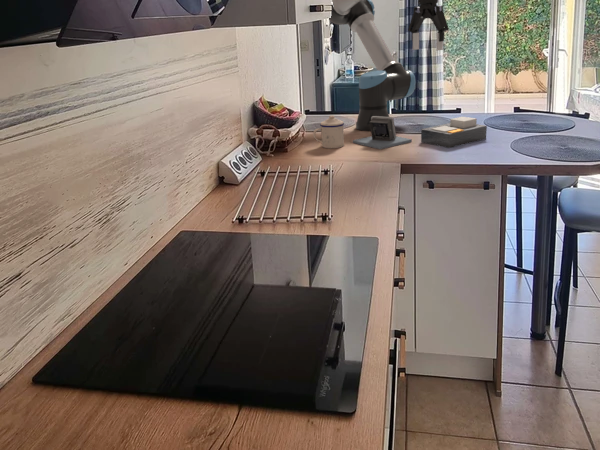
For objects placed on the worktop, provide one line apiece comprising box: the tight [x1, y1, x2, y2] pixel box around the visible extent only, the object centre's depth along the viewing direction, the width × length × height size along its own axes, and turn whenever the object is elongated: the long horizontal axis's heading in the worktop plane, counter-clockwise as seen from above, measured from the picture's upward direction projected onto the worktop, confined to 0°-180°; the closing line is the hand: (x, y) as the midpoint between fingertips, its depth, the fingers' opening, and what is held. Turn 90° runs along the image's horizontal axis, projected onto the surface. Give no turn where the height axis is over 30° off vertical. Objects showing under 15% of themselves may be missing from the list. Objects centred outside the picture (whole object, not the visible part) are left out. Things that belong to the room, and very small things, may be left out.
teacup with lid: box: [312, 115, 345, 149], centre depth 220 cm, size 12×9×12 cm
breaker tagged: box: [431, 126, 458, 133], centre depth 215 cm, size 7×7×3 cm
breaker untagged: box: [449, 116, 478, 128], centre depth 219 cm, size 7×7×3 cm
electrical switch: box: [369, 116, 397, 141], centre depth 221 cm, size 9×5×9 cm, turn 55°
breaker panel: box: [420, 122, 488, 149], centre depth 218 cm, size 14×20×5 cm
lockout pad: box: [352, 135, 413, 150], centre depth 223 cm, size 16×16×1 cm
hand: (427, 50), depth 231 cm, fingers open, 13 cm apart
